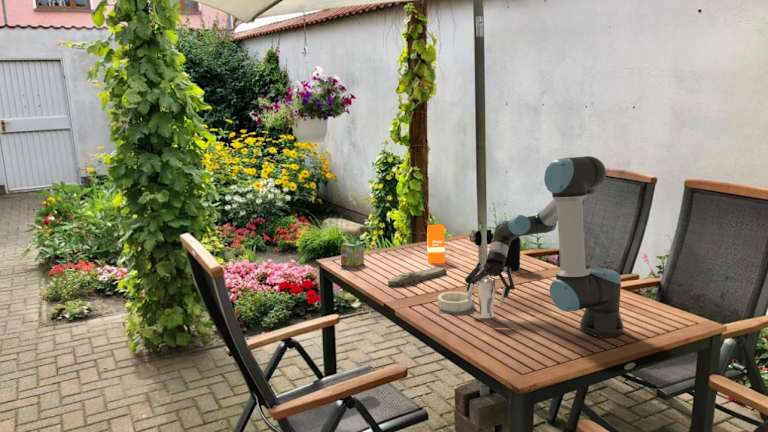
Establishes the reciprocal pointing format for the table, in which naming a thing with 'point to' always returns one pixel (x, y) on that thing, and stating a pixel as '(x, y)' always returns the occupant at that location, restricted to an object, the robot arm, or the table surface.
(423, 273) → the elongated rock
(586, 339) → the table surface
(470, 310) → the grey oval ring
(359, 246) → the green glass canister
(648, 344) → the table surface
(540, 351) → the table surface
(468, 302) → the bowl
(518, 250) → the coffee jar
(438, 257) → the orange juice
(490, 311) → the beer glass
